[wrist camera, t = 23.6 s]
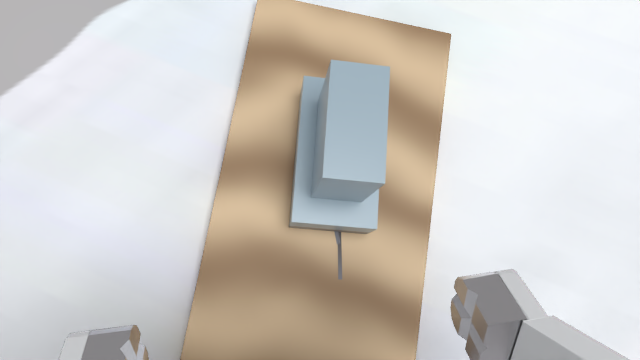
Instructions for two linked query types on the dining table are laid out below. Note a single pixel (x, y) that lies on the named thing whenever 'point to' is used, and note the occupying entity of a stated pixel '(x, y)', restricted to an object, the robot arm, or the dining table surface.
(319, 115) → the block
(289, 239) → the oak board
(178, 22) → the dining table surface
